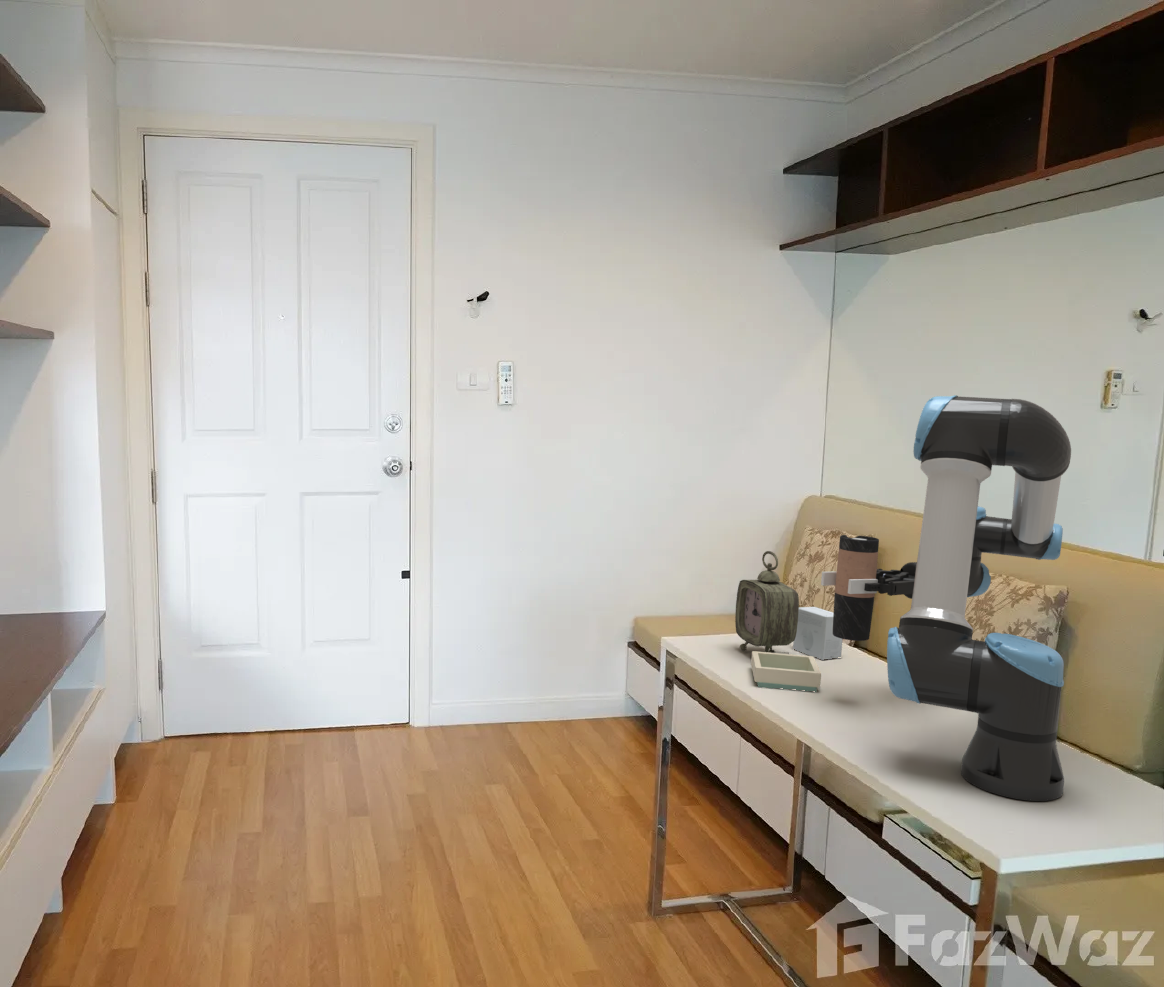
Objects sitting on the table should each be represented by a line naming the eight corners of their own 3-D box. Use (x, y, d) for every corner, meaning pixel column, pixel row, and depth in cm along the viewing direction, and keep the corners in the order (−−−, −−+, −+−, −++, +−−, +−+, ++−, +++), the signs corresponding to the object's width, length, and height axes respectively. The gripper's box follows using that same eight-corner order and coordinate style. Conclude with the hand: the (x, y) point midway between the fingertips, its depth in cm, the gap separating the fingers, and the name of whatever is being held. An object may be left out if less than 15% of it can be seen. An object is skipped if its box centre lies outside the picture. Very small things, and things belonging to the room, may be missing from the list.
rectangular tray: (819, 692, 195) (821, 674, 195) (754, 686, 197) (755, 668, 196) (809, 668, 213) (811, 651, 212) (749, 663, 214) (751, 646, 214)
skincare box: (842, 658, 223) (846, 615, 222) (822, 661, 220) (825, 617, 219) (811, 647, 232) (815, 605, 231) (791, 649, 229) (795, 607, 228)
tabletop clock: (732, 648, 226) (740, 546, 224) (766, 647, 229) (774, 546, 227) (761, 666, 213) (770, 557, 210) (796, 664, 215) (805, 557, 213)
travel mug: (862, 643, 183) (871, 541, 181) (824, 635, 188) (833, 536, 186) (876, 637, 189) (885, 538, 187) (839, 629, 194) (848, 533, 192)
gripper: (960, 608, 186) (869, 612, 176) (888, 588, 204) (802, 590, 195) (964, 571, 185) (872, 573, 176) (891, 554, 204) (805, 555, 194)
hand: (835, 582), depth 185 cm, fingers closed on travel mug, 7 cm apart
